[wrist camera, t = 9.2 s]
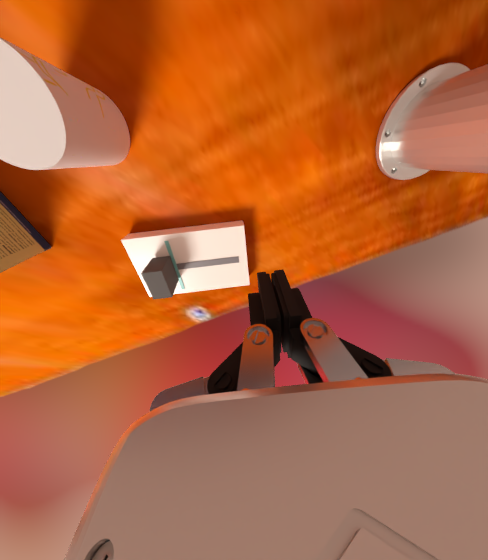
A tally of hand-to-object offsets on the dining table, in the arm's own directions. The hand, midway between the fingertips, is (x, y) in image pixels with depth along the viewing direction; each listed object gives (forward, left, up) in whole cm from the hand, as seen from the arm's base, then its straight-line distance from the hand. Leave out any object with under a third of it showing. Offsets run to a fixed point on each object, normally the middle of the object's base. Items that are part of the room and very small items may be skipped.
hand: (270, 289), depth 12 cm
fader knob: (+15, +8, -19) cm, 26 cm away
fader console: (+10, +8, -23) cm, 26 cm away
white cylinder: (+18, -12, -23) cm, 32 cm away
